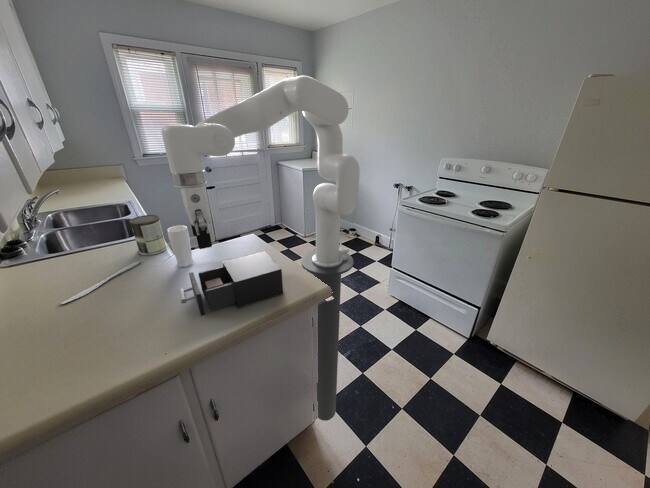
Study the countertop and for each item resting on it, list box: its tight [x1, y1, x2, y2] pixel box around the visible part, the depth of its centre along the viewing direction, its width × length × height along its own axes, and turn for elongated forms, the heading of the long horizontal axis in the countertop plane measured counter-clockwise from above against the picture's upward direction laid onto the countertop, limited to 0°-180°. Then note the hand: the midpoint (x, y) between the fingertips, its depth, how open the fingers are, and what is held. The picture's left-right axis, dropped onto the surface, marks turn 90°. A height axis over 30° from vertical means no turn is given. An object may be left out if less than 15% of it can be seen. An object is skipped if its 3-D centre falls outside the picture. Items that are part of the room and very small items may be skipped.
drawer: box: [177, 265, 237, 317], centre depth 82 cm, size 18×13×7 cm
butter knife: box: [60, 261, 140, 305], centre depth 93 cm, size 1×27×3 cm
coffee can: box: [129, 214, 168, 256], centre depth 113 cm, size 10×10×14 cm
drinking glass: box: [166, 224, 194, 268], centre depth 101 cm, size 7×7×15 cm
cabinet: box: [221, 251, 284, 309], centre depth 88 cm, size 15×15×9 cm
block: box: [205, 278, 223, 290], centre depth 82 cm, size 4×4×4 cm
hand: (202, 241), depth 74 cm, fingers open, 9 cm apart
